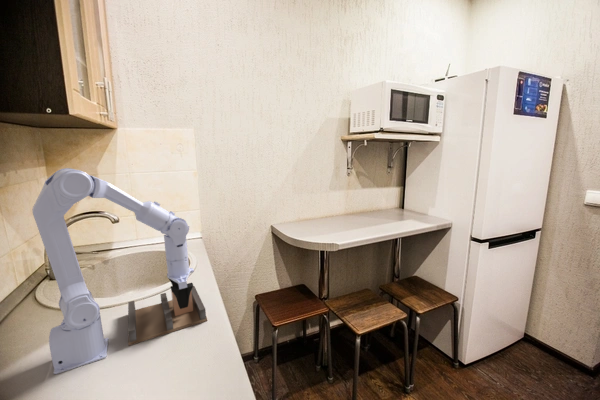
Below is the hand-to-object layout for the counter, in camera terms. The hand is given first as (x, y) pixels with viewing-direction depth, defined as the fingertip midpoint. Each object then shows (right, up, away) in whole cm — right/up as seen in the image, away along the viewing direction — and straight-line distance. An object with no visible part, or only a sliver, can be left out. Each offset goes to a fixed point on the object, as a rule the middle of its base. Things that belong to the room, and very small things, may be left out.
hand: (181, 301), depth 82 cm
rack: (-4, -4, -1) cm, 6 cm away
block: (0, -3, +1) cm, 3 cm away
